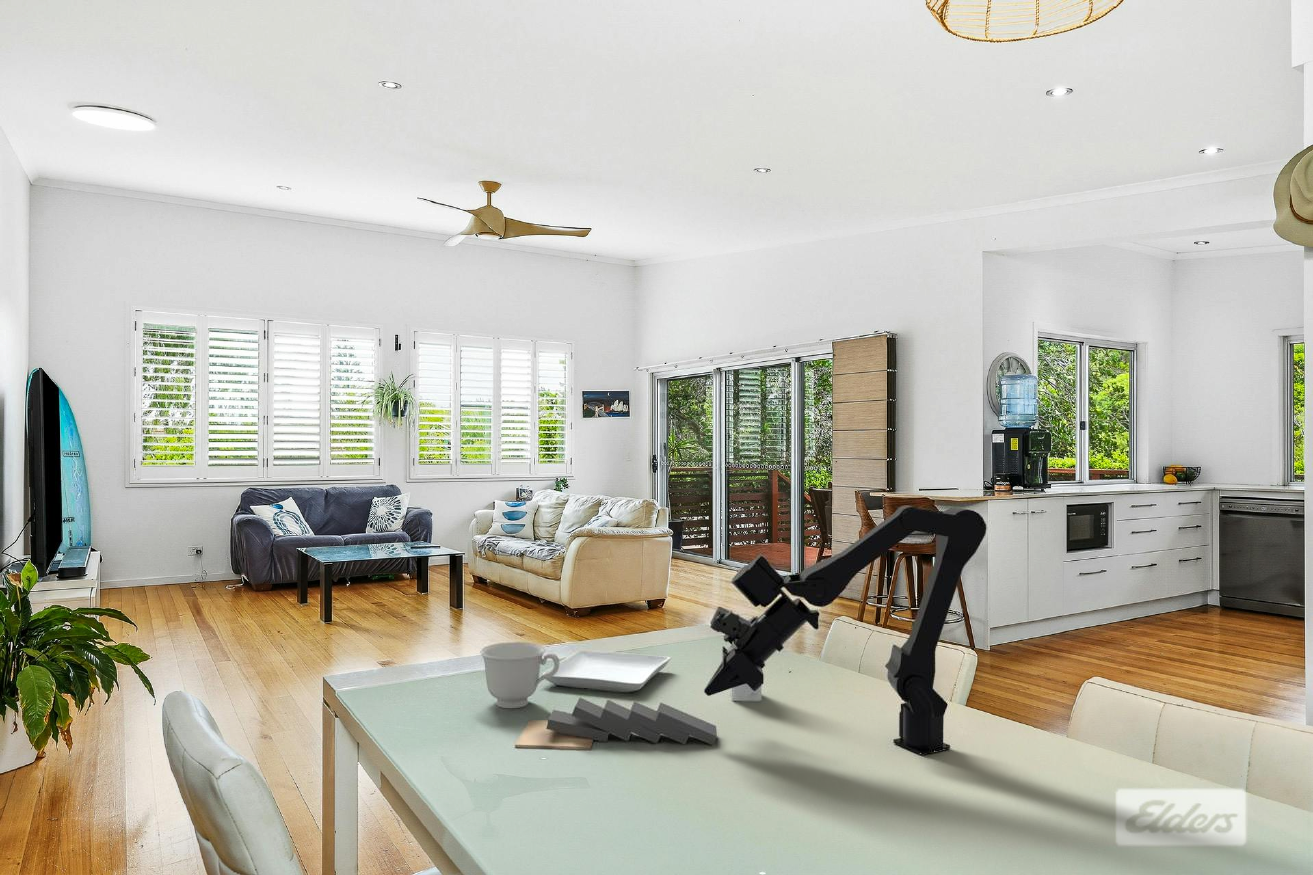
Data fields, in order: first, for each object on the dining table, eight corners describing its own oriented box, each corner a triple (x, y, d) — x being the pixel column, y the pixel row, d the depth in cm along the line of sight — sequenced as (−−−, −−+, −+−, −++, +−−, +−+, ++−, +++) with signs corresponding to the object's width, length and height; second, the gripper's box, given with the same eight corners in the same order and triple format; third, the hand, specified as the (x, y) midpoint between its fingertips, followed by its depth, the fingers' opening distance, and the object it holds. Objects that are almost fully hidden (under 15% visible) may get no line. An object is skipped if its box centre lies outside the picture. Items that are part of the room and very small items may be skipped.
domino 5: (716, 725, 141) (660, 702, 141) (716, 736, 136) (659, 711, 136) (712, 734, 141) (656, 711, 141) (713, 745, 136) (655, 720, 136)
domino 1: (611, 722, 141) (553, 709, 142) (608, 732, 136) (548, 719, 137) (609, 731, 141) (551, 718, 142) (606, 742, 136) (546, 728, 137)
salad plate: (539, 689, 166) (539, 672, 166) (579, 663, 187) (579, 648, 187) (641, 700, 160) (641, 682, 160) (671, 672, 180) (672, 656, 181)
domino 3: (662, 724, 141) (607, 699, 142) (660, 734, 136) (604, 708, 137) (658, 733, 141) (604, 708, 142) (656, 743, 136) (600, 717, 137)
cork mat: (599, 724, 145) (599, 722, 145) (590, 749, 133) (590, 746, 133) (530, 722, 146) (530, 719, 146) (514, 747, 134) (515, 744, 134)
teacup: (547, 717, 148) (548, 660, 148) (468, 711, 151) (469, 655, 151) (568, 697, 160) (569, 644, 160) (494, 692, 163) (495, 640, 163)
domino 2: (634, 721, 141) (579, 697, 142) (631, 731, 136) (575, 706, 137) (630, 730, 141) (575, 705, 142) (627, 740, 136) (571, 715, 137)
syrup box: (762, 701, 159) (763, 624, 159) (730, 701, 159) (731, 624, 159) (759, 693, 165) (759, 618, 165) (728, 692, 165) (729, 618, 165)
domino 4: (689, 725, 141) (634, 701, 141) (688, 735, 136) (631, 710, 136) (685, 733, 141) (630, 709, 141) (685, 744, 136) (627, 719, 136)
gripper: (737, 582, 147) (673, 644, 148) (742, 602, 129) (669, 672, 129) (782, 628, 147) (717, 690, 147) (794, 655, 128) (720, 725, 129)
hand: (705, 693), depth 138 cm, fingers closed
